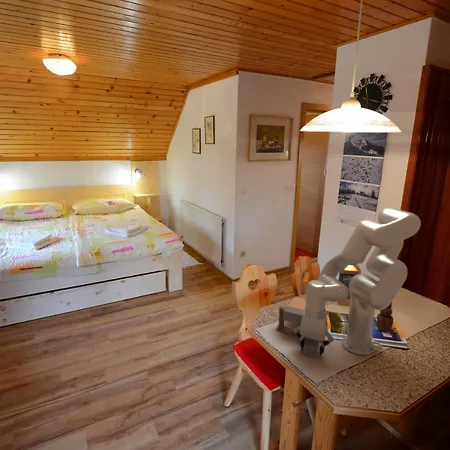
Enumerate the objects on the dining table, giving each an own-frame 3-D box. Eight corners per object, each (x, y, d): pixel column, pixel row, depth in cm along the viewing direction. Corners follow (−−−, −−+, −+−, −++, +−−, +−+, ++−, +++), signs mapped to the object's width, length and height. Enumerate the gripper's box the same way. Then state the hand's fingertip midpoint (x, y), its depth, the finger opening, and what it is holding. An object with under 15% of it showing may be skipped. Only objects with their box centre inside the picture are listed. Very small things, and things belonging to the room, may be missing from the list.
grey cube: (319, 351, 133) (320, 339, 132) (316, 359, 128) (317, 347, 126) (307, 347, 135) (308, 336, 134) (303, 355, 130) (304, 343, 129)
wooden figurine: (391, 327, 149) (395, 298, 146) (392, 334, 144) (396, 304, 141) (375, 324, 152) (379, 295, 148) (375, 330, 147) (379, 300, 143)
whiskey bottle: (337, 304, 170) (343, 247, 162) (335, 296, 180) (340, 241, 172) (358, 307, 168) (365, 248, 160) (355, 298, 178) (361, 242, 170)
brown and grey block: (323, 308, 151) (324, 299, 150) (314, 328, 135) (314, 318, 134) (294, 301, 158) (294, 293, 156) (281, 319, 142) (282, 310, 141)
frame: (324, 338, 141) (326, 315, 139) (322, 343, 138) (324, 320, 135) (278, 325, 151) (279, 304, 148) (275, 330, 147) (276, 308, 145)
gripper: (339, 312, 126) (335, 352, 130) (295, 302, 134) (293, 340, 138) (336, 321, 120) (331, 363, 124) (290, 310, 128) (288, 349, 132)
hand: (311, 350), depth 131 cm, fingers open, 6 cm apart
